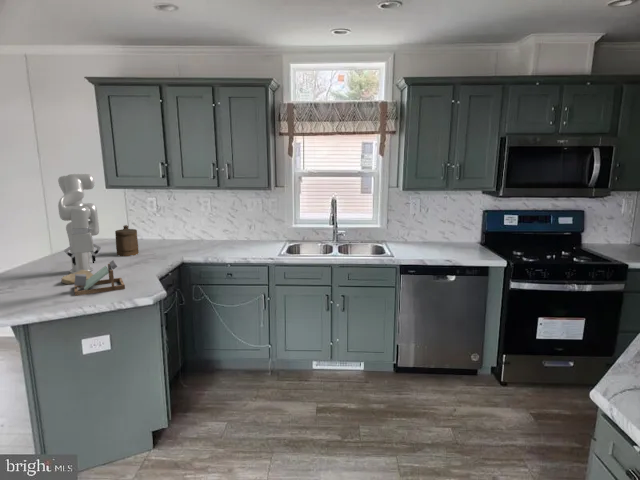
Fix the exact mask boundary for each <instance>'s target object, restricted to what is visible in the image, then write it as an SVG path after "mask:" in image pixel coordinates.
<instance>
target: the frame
mask: <svg viewBox="0 0 640 480" xmlns="http://www.w3.org/2000/svg"><path fill="white" fill-rule="evenodd" d="M107 268H108V271H109V273H108V279H100V280H99V281H98V282H96V283H95V284H94V285H93V286H97V285H105V284H111V286H107V287H106V286H104V287H98V288H88V289H87V290H85V289H83V290H78V288H81V287H83V288H84V286H75V285H73V286H74V296H75V297H76V296H84V295H90V294H96V293H97V294H98V293H103V292H104V293H105V292H111V291H112V292H113V291H121V290H125V289H126V286H125V283H124V280H123V278H122V277H115V278H114V270H113V269H112V268H111V266H110V263H107ZM115 283H119V284H120V285H119V284H118V285H115Z"/></svg>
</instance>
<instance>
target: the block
mask: <svg viewBox="0 0 640 480" xmlns="http://www.w3.org/2000/svg"><path fill="white" fill-rule="evenodd" d="M74 285H75V286H86V274H75V281H74ZM74 285H73V286H74Z"/></svg>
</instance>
